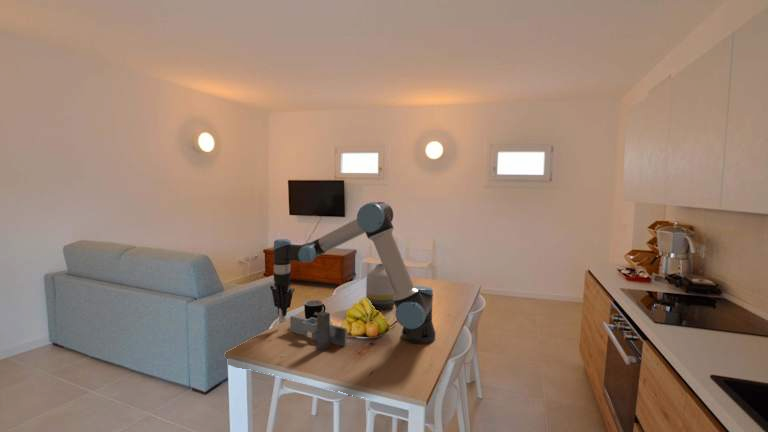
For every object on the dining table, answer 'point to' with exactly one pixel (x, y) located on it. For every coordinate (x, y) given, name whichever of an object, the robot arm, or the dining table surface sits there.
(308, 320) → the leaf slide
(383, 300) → the vase
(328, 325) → the pin
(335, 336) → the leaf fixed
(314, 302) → the mug
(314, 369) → the dining table surface
